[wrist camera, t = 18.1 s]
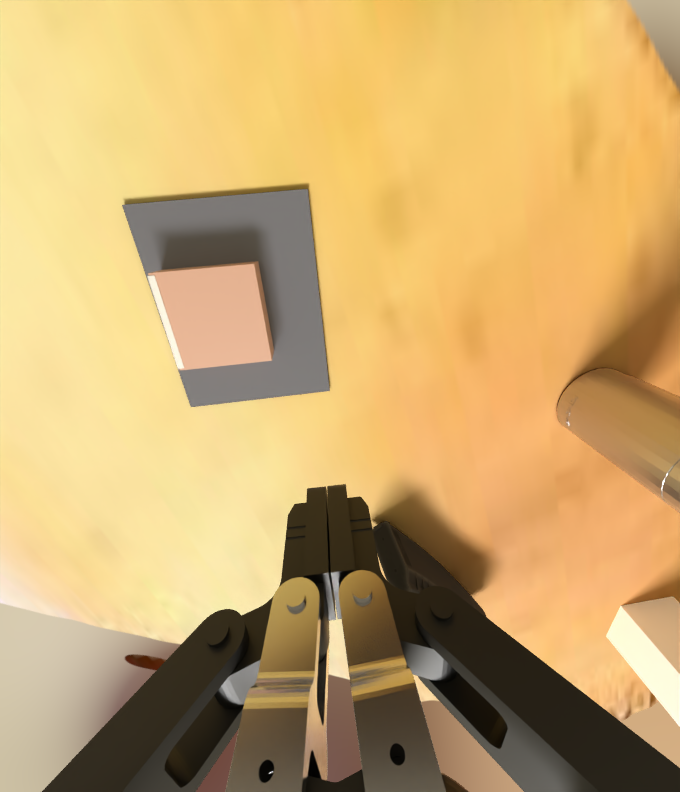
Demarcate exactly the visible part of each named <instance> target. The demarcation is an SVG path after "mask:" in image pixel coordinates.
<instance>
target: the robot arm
mask: <svg viewBox="0 0 680 792" xmlns="http://www.w3.org/2000/svg"><path fill="white" fill-rule="evenodd" d="M557 417H558V420H559V422H560V423H561V424H562V425H563V426H564V427H565V428H567V429H568V430H569V431H571V432H572V433H573V434H575V435H576V436H577V437H579V438H580V439H581V440H583V441H584V442H585V443H586V444H588V445H589V446H590V447H592V448H593V449H595V450H596V451H597V452H599V453H600V454H601V455H603V456H604V457H605V458H607V459H608V460H609V461H611V462H612V463H613V464H615V465H616V466H617V467H619V468H620V469H621V470H623V471H624V472H625V473H627V474H628V475H629V476H631V477H632V478H633V479H635V480H636V481H637V482H639V483H640V484H641V485H643V486H644V487H645V488H647V489H648V490H649V491H651V492H652V493H653V494H655V495H656V496H657V497H659V498H660V499H661V500H663V501H664V502H665V503H667V504H668V505H670V506H671V507H672V508H674V509H675V510H676V511H678V512H679V513H680V397H679V396H677V395H675V394H672V393H670V392H668V391H665V390H663V389H661V388H659V387H656V386H654V385H652V384H649V383H647V382H645V381H643V380H640V379H638V378H636V377H633V376H631V375H629V376H628V375H626V374H624V373H621V372H619V371H617V370H614V369H610V368H601V369H596V370H592V371H590V372H587V373H585V374H583V375H582V376H580V377H579V378H577V379H576V380H575V381H573V382H572V383H571V384H570V385H569V386H568V387H567V389H566V390H565V391H564V392H563V394H562V396H561V397H560V400H559V402H558V405H557ZM327 492H328V496H327ZM335 604H336V610H337V617H338V619H342V624H343V632H344V639H345V646H346V654H347V661H348V668H349V676H350V683H351V691H352V698H353V706H354V713H355V720H356V727H357V735H358V742H359V750H360V757H361V764H362V770H360V771H358V772H356V773H354V774H353V775H351V776H349V777H347V778H345V779H344V780H342V781H339V782H329V781H327V739H326V738H327V737H326V720H327V691H328V665H329V620H336V614H335ZM413 674H414V675H417V676H418V677H419V679H420V680H421V681H422V682H423V684H424V685H425V686H426V687H427V688H428V689H429V690H430V691H431V692H432V693H433V694H434V695H435V696H436V698H437V699H438V700H439V701H440V702H441V703H442V704H443V705H444V706H445V707H446V708H447V709H448V710H449V711H450V713H451V714H452V715H453V716H454V717H455V718H456V719H457V720H458V721H459V722H460V723H461V724H462V725H463V727H464V728H465V729H466V730H467V731H468V732H469V733H470V734H471V735H472V736H473V737H474V738H475V739H476V740H477V741H478V743H479V744H480V745H481V746H482V747H483V748H484V749H485V750H486V751H487V752H488V753H489V754H490V756H492V758H493V759H494V760H495V761H496V762H497V763H498V764H499V765H500V766H501V767H502V768H503V769H504V771H505V772H507V774H508V775H509V776H510V777H511V778H512V779H513V780H514V781H515V782H516V783H517V784H518V785H519V787H520V788H521V789H522V790H523V791H524V792H680V768H679V767H678V766H676V765H675V764H674V763H673V762H671V761H670V760H669V759H667V758H666V757H665V756H664V755H662V754H661V753H660V752H658V751H657V750H656V749H655V748H653V747H652V746H651V745H650V744H648V743H647V742H645V741H644V740H643V739H642V738H641V737H639V736H638V735H637V734H635V733H634V732H633V731H632V730H630V729H629V728H627V727H626V726H625V725H624V724H623V723H621V722H620V721H619V720H617V719H616V718H615V717H614V716H612V715H611V714H610V713H608V712H607V711H606V710H605V709H603V708H602V707H601V706H599V705H598V704H597V703H596V702H594V701H593V700H592V699H590V698H589V697H588V696H587V695H585V694H584V693H583V692H581V691H580V690H579V689H578V688H576V687H575V686H574V685H572V684H571V683H570V682H569V681H567V680H566V679H565V678H563V677H562V676H561V675H560V674H558V673H557V672H556V671H554V670H553V669H552V668H551V667H549V666H548V665H547V664H546V663H544V662H543V661H542V660H540V659H539V658H538V657H537V656H535V655H534V654H533V653H531V652H530V651H529V650H528V649H526V648H525V647H524V646H522V645H521V644H520V643H519V642H517V641H516V640H515V639H513V638H512V637H511V636H510V635H508V634H507V633H506V632H504V631H503V630H502V629H501V628H499V627H498V626H497V625H495V624H494V623H493V622H492V621H490V620H489V619H488V618H486V617H485V616H484V615H483V614H481V613H480V612H479V611H477V610H476V609H475V608H474V607H472V606H471V605H470V604H468V603H467V602H466V601H465V600H463V599H462V598H461V597H459V596H458V595H457V594H456V593H454V592H453V591H451V590H449V589H447V588H445V587H441V586H431V587H427V588H425V589H424V590H422V591H421V592H420V593H419V594H418V593H413V592H409V591H404V590H401V589H398V588H396V587H394V586H393V585H391V584H390V583H389V582H388V581H387V580H386V579H385V578H384V576H383V575H382V573H381V570H380V566H379V561H378V556H377V551H376V545H375V540H374V535H373V530H372V524H371V520H370V514H369V509H368V506H367V504H366V503H365V502H364V500H363V499H362V498H361V497H353V498H347V492H346V484H343V485H334V486H327V489H326V487H317V488H308V489H307V503H299V504H294V506H293V508H292V509H291V511H290V513H289V515H288V521H287V531H286V540H285V550H284V559H283V569H282V578H281V583H280V586H279V588H278V589H277V591H276V592H275V594H274V596H273V597H272V598H271V599H270V600H269V601H268V602H267V603H266V604H264V605H263V606H261V607H259V608H257V609H255V610H253V611H251V612H248V613H246V614H244V615H242V616H241V615H240V614H239V613H238V612H237V611H235V610H231V609H224V610H220V611H217V612H215V613H213V614H212V615H210V616H209V617H207V618H206V619H205V620H204V621H203V622H202V623H201V624H200V625H199V626H198V627H197V629H196V630H195V631H194V632H193V633H192V634H191V635H190V636H189V637H188V638H187V639H186V640H185V641H184V642H183V643H182V644H181V645H180V647H179V648H178V649H177V650H176V651H175V652H174V653H173V654H172V655H171V656H170V657H169V658H168V659H167V660H166V661H165V662H164V663H163V664H162V666H161V667H160V668H159V669H158V670H157V671H156V672H155V673H154V674H153V675H152V676H151V677H150V678H149V679H148V680H147V681H146V683H144V685H143V686H142V687H141V688H140V689H139V690H138V691H137V692H136V693H135V694H134V695H133V696H132V697H131V698H130V699H129V701H128V702H126V704H125V705H124V706H123V707H122V708H121V709H120V710H119V711H118V712H117V713H116V714H115V715H114V716H113V717H112V718H111V719H110V721H108V723H107V724H106V725H105V726H104V727H103V728H102V729H101V730H100V731H99V732H98V733H97V734H96V735H95V736H94V737H93V738H92V740H91V741H90V742H89V743H88V744H87V745H86V746H85V747H84V748H83V749H82V750H81V751H80V752H79V753H78V754H77V755H76V756H75V757H74V758H73V759H72V761H71V762H70V763H69V764H68V765H67V766H66V767H65V768H64V769H63V770H62V771H61V772H60V773H59V774H58V775H57V776H56V777H55V779H54V780H53V781H52V782H51V783H50V784H49V785H48V786H47V787H46V788H45V789H44V790H43V791H42V792H196V790H197V789H198V787H199V786H200V784H201V783H202V781H203V780H204V778H205V777H206V776H207V774H208V772H209V771H210V770H211V768H212V767H213V765H214V764H215V762H216V761H217V759H218V758H219V756H220V755H221V754H222V752H223V751H224V749H225V748H226V746H227V745H228V743H229V742H230V740H231V739H232V737H233V736H234V734H235V733H236V732H237V730H238V729H239V731H238V735H237V740H236V745H235V749H234V754H233V759H232V764H231V768H230V773H229V778H228V782H227V787H226V792H468V791H467V790H466V789H465V788H464V787H462V786H461V785H460V784H459V783H457V782H456V781H455V780H453V779H451V778H450V777H448V776H447V775H445V774H443V773H441V772H440V768H439V765H438V761H437V758H436V754H435V751H434V747H433V744H432V740H431V736H430V733H429V729H428V726H427V723H426V719H425V715H424V712H423V708H422V705H421V701H420V698H419V694H418V690H417V687H416V684H415V680H414V677H413Z"/></svg>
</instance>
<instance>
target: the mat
mask: <svg viewBox="0 0 680 792" xmlns="http://www.w3.org/2000/svg"><path fill="white" fill-rule="evenodd" d="M122 206H123V209H124V212H125V215H126V218H127V221H128V224H129V227H130V230H131V233H132V236H133V238H134V241H135V244H136V247H137V250H138V253H139V256H140V259H141V262H142V265H143V268H144V271H145V274H146V277H147V276H149V275H148V273H151V272H155V271H159V270H165V269H176V268H187V267H199V266H210V265H221V264H232V263H243V262H255V261H258V263H259V268H260V274H261V280H262V285H263V291H264V296H265V302H266V308H267V313H268V319H269V324H270V330H271V336H272V341H273V347H274V354H273V358H272V361H264V362H255V363H246V364H236V365H227V366H218V367H208V368H199V369H190V370H180V369H178V370H179V373H180V376H181V379H182V382H183V385H184V388H185V391H186V394H187V397H188V400H189V403H190V406H191V407H196V406H205V405H213V404H222V403H230V402H239V401H247V400H256V399H264V398H273V397H281V396H290V395H298V394H307V393H315V392H324V391H330V389H329V380H328V371H327V361H326V352H325V343H324V334H323V325H322V315H321V306H320V297H319V288H318V279H317V269H316V260H315V251H314V242H313V233H312V223H311V214H310V205H309V196H308V189H300V190H289V191H277V192H266V193H254V194H242V195H231V196H219V197H208V198H196V199H184V200H173V201H161V202H150V203H138V204H126V205H122ZM147 280H148V277H147ZM148 282H149V280H148ZM149 285H150V283H149ZM150 288H151V286H150ZM151 291H152V289H151ZM152 294H153V292H152ZM153 297H154V295H153ZM154 300H155V298H154ZM155 303H156V301H155ZM156 306H157V304H156ZM157 309H158V307H157ZM158 312H159V310H158ZM159 315H160V313H159ZM160 318H161V316H160ZM161 321H162V319H161ZM162 324H163V322H162ZM163 326H164V325H163ZM164 329H165V328H164ZM165 332H166V331H165ZM166 335H167V334H166ZM167 338H168V337H167ZM168 341H169V340H168ZM169 344H170V343H169ZM170 347H171V346H170ZM171 350H172V349H171ZM172 353H173V352H172ZM173 356H174V355H173ZM174 359H175V358H174ZM175 362H176V361H175ZM176 365H177V364H176ZM177 368H178V367H177Z"/></svg>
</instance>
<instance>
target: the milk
mask: <svg viewBox="0 0 680 792" xmlns="http://www.w3.org/2000/svg"><path fill="white" fill-rule="evenodd" d="M606 637H607V638H608V639H609V640H610V642H611V643H612V644H613V645H614V647H615V648H616V649H617V650H618V651H619V653H620V654H621V655H622V656H623V658H624V659H625V660H626V661H627V662H628V664H629V665H630V666H631V667H632V669H633V670H634V671H635V672H636V674H637V675H638V676H639V677H640V678H641V680H642V681H643V682H644V683H645V685H646V686H647V687H648V688H649V690H650V691H651V692H652V693H653V694H654V696H655V697H656V698H657V699H658V701H659V702H660V703H661V704H662V706H663V707H664V708H665V709H666V710H667V712H668V713H669V714H670V715H671V717H672V718H673V719H674V720H675V722H676V723H677V724H678V725H679V726H680V603H679V602H678V601H677V600H676V599H675V598H674V597H673V596H672V597H666V598H661V599H655V600H650V601H644V602H639V603H633V604H628V605H622V606H620V609H619V611H618V613H617V615H616V617H615V619H614V621H613V623H612V625H611V627H610V629H609V631H608V633H607V635H606Z"/></svg>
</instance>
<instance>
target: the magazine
mask: <svg viewBox="0 0 680 792" xmlns="http://www.w3.org/2000/svg"><path fill="white" fill-rule="evenodd" d="M373 528H374V529H372V530H373V535H374V540H375V545H376V551H377V554H378V557H379V560H380V563H381V565H382V568H383V571H384V574H385V576H386V579H387V581H388V582H389V583H390V584H391V585H393V586H394V587H396V588H398V589H401V590H404V591H409V592H413V593H418V594H419V593H420V592H421V591H422V590H424V589H425V588H427V587H431V586H441V587H445V588H447V589H449V590H451V591H453V592H454V593H456V594H457V595H458V596H459V597H461V598H462V599H463V600H465V601H466V602H467V603H468V604H470V605H471V606H472V607H474V608H475V609H476V610H477V611H479V612H480V613H481V614H483V615H484V616H485V617H486V615H485V612H484V611H483V609H482V608H481V607H480V606H479V605H478V603H477V602H476V601H475V600H474V599H473V598H472V596H470V595H469V593H468V592H467V591H466V590H465V589H464V588H463V587H462V586H461V585H460V584H459V583H458V582H457V581H456V580H455V579H454V577H453V576H452V575H451V574H450V573H449V572H448V571H447V570H446V569H445V568H444V567H443V566H442V565H440V564H439V563H438V562H437V561H436V560H435V559H434V558H433V557H432V556H430V555H429V554H428V553H427V552H426V551H425V550H423V549H422V548H421V547H420V546H418V545H417V544H416V543H415V542H413V541H412V540H411V539H409V538H408V537H406V536H405V535H404V534H402V533H401V532H399V531H398V530H397V529H395V528H394V527H393V526H391V525H390V524H389V522H387V521H385V522H383V523H382V522H381V523H380V524H378V525H377V526H375V527H373ZM486 618H487V617H486Z"/></svg>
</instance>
